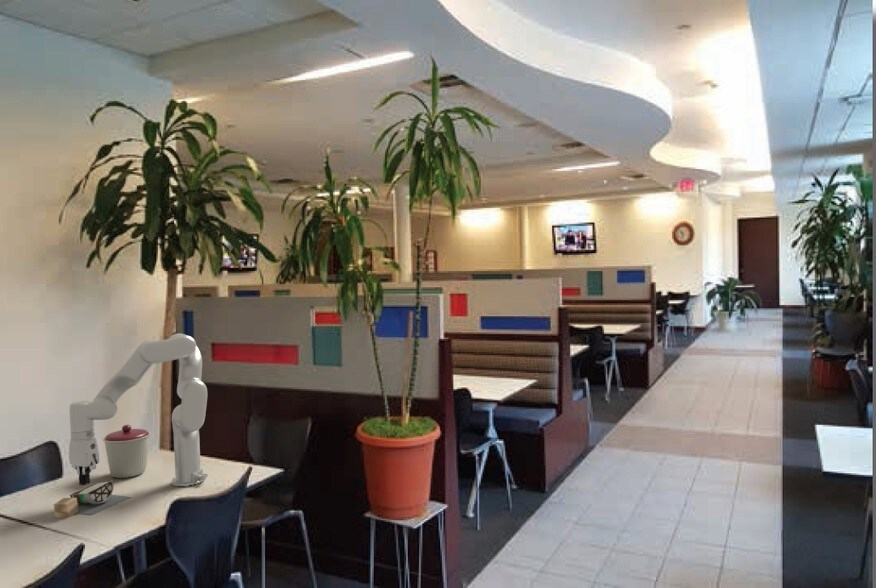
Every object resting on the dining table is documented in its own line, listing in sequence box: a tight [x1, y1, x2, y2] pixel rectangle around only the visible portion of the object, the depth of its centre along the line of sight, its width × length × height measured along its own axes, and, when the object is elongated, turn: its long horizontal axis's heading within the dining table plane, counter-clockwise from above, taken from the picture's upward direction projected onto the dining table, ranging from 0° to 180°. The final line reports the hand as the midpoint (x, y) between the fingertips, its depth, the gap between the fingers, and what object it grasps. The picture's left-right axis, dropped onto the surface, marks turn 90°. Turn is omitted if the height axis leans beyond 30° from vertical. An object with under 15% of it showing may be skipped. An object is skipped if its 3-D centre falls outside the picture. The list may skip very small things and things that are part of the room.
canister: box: [102, 424, 152, 479], centre depth 265 cm, size 18×18×21 cm
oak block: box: [53, 497, 79, 519], centre depth 221 cm, size 5×5×5 cm
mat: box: [76, 494, 133, 516], centre depth 231 cm, size 12×18×1 cm, turn 161°
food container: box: [69, 480, 115, 505], centre depth 232 cm, size 12×6×10 cm
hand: (84, 484), depth 233 cm, fingers closed
